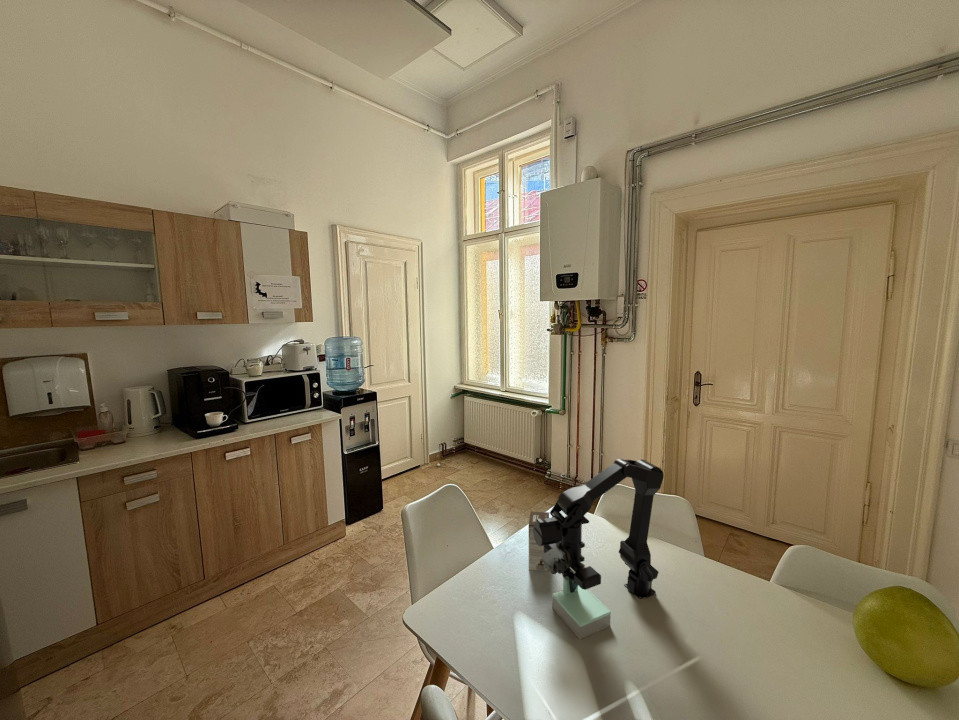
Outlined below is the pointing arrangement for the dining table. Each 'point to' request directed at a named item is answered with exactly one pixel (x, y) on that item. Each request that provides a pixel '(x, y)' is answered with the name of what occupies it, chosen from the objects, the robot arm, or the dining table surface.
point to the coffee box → (534, 549)
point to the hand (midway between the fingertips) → (570, 590)
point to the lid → (580, 604)
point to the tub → (579, 631)
